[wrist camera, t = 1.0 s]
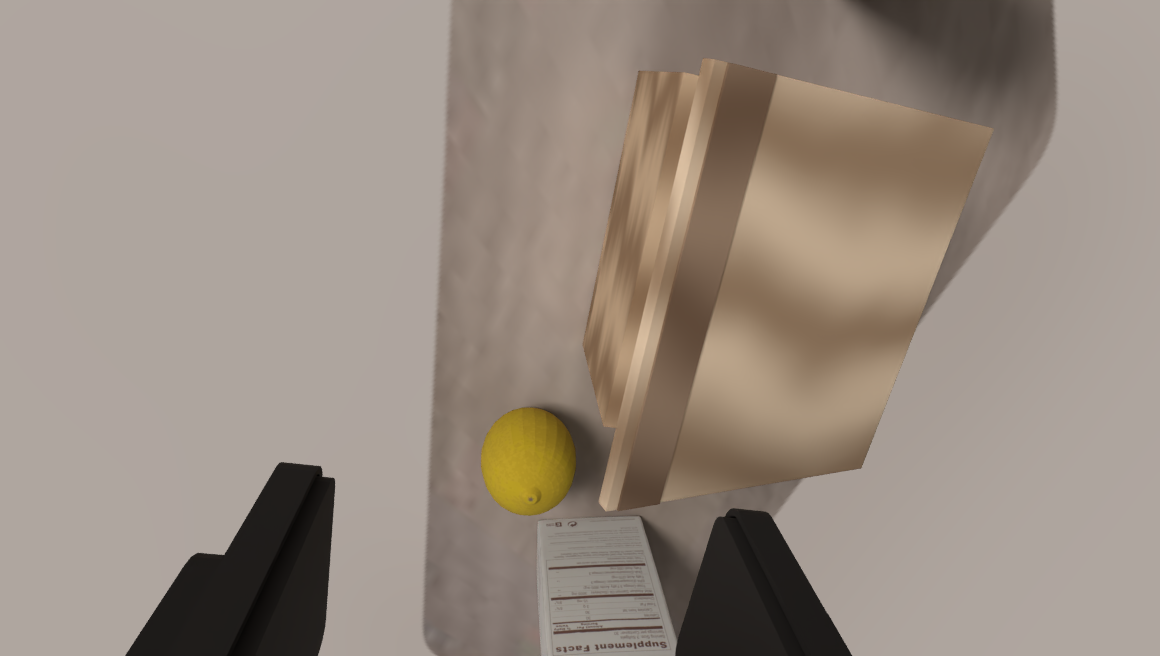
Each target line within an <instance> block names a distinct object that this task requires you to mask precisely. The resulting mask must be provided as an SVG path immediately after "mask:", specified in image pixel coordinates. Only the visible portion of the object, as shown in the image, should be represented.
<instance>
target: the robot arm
mask: <svg viewBox="0 0 1160 656" xmlns="http://www.w3.org/2000/svg"><path fill="white" fill-rule="evenodd" d="M334 494H335V479H334V478H328V477H322V468H321V466H313V465H303V464H293V463H284V462H281V463H279V464H278V465H277V467H276V468H275V470H274V472H273V473H272V475H271V477H270V478H269V480H268V482H267V483H266V485H265V487H264V489H263V490H262V492H261V494H260V495H259V497H258V499H257V500H256V502H255V504H254V506H253V507H252V509H251V511H250V513H249V514H248V516H247V517H246V519H245V521H244V522H243V524H242V526H241V528H240V529H239V531H238V533H237V534H236V536H235V538H234V539H233V541H232V543H231V545H230V547H229V548H228V550H227V552H226V553H225V555H216V554H204V553H197V554H195V555H193V556H192V557H191V558H190V559H189V560H188V562H187V563H186V564H185V565H184V567H183V568H182V570H181V571H180V573H179V574H178V576H177V578H176V579H175V581H174V582H173V584H172V585H171V587H170V588H169V590H168V591H167V593H166V594H165V596H164V598H163V599H162V600H161V602H160V603H159V605H158V607H157V608H156V610H155V611H154V613H153V614H152V616H151V617H150V619H149V620H148V622H147V623H146V625H145V627H144V628H143V629H142V631H141V632H140V634H139V635H138V637H137V639H136V640H135V642H134V643H133V645H132V646H131V648H130V649H129V651H128V652H127V654H126V656H318V653H319V650H320V647H321V643H322V639H323V635H324V629H325V622H326V609H327V596H328V581H329V567H330V551H331V537H332V523H333V508H334ZM675 656H852V655H851V653H850V651H849V649H848V648H847V646H846V644H845V643H844V641H843V639H842V637H841V636H840V634H839V632H838V630H837V629H836V627H835V625H834V624H833V622H832V620H831V618H830V617H829V615H828V614H827V613H826V611H825V609H824V607H823V606H822V604H821V603H820V600H819V599H818V597H817V595H816V593H815V592H814V590H813V588H812V586H811V585H810V583H809V581H808V579H807V578H806V576H805V574H804V573H803V571H802V569H801V567H800V566H799V564H798V562H797V560H796V559H795V557H794V555H793V554H792V552H791V550H790V548H789V547H788V545H787V543H786V541H785V540H784V538H783V536H782V534H781V533H780V531H779V529H778V527H777V526H776V524H775V522H774V520H773V519H772V517H771V516H770V515H769V513H767V512H763V511H753V510H744V509H734V508H733V509H730V510H729V511H728V512H727V514H726V516H725V517H718V518H717V519H716V520H715V523H714V525H713V528H712V532H711V535H710V538H709V541H708V545H707V548H706V551H705V554H704V557H703V561H702V564H701V567H700V570H699V573H698V577H697V580H696V583H695V586H694V590H693V593H692V596H691V599H690V602H689V606H688V609H687V612H686V615H685V618H684V622H683V625H682V628H681V631H680V634H679V638H678V641H677V645H676V651H675Z"/></svg>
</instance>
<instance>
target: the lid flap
mask: <svg viewBox="0 0 1160 656" xmlns="http://www.w3.org/2000/svg"><path fill="white" fill-rule="evenodd" d="M993 130H994V129H993V128H989V127H985V126H981V125H977V124H973V123H969V122H965V121H961V120H957V119H953V118H949V117H945V116H941V115H937V114H933V113H929V112H925V111H921V110H917V109H913V108H909V107H905V106H901V105H897V104H893V103H888V102H884V101H880V100H876V99H872V98H868V97H864V96H860V95H856V94H852V93H848V92H844V91H840V90H836V89H832V88H828V87H824V86H820V85H816V84H812V83H808V82H804V81H800V80H796V79H792V78H788V77H784V76H780V75H777V74H773V73H769V72H765V71H761V70H757V69H753V68H749V67H745V66H741V65H737V64H732V63H727V62H723V61H719V60H715V59H706V58H703V61H702V65H701V69H700V73H699V78H698V82H697V86H696V90H695V95H694V99H693V103H692V107H691V112H690V116H689V120H688V124H687V129H686V133H685V137H684V141H683V146H682V150H681V154H680V158H679V163H678V167H677V171H676V175H675V180H674V184H673V188H672V192H671V197H670V201H669V205H668V209H667V214H666V218H665V222H664V226H663V231H662V235H661V239H660V243H659V248H658V252H657V256H656V260H655V265H654V269H653V273H652V277H651V282H650V286H649V290H648V294H647V299H646V303H645V307H644V311H643V316H642V320H641V324H640V328H639V333H638V337H637V341H636V345H635V350H634V354H633V358H632V362H631V367H630V371H629V375H628V379H627V384H626V388H625V392H624V396H623V401H622V405H621V409H620V413H619V418H618V422H617V426H616V430H615V435H614V439H613V443H612V447H611V452H610V456H609V460H608V464H607V469H606V473H605V477H604V481H603V486H602V490H601V494H600V498H599V503H600V505H601V506H602V507H603V508H604V510H605V511H611V510H618V511H622V510H628V509H633V508H639V507H645V506H651V505H657V504H660V502H665V501H670V500H676V499H682V498H688V497H694V496H700V495H706V494H712V493H718V492H724V491H730V490H736V489H741V488H747V487H753V486H759V485H765V484H771V483H777V482H783V481H789V480H795V479H801V478H807V477H812V476H818V475H824V474H830V473H836V472H841V471H848V470H854V469H860V468H861V467H862V465H863V462H864V460H865V457H866V455H867V452H868V450H869V447H870V444H871V442H872V439H873V437H874V434H875V432H876V429H877V426H878V424H879V421H880V419H881V416H882V414H883V411H884V409H885V406H886V404H887V401H888V398H889V396H890V393H891V391H892V388H893V386H894V383H895V381H896V378H897V375H898V373H899V370H900V368H901V365H902V363H903V360H904V358H905V355H906V352H907V350H908V347H909V344H910V342H911V340H912V337H913V335H914V332H915V329H916V327H917V324H918V322H919V319H920V317H921V314H922V312H923V309H924V306H925V304H926V301H927V299H928V296H929V294H930V291H931V289H932V286H933V283H934V281H935V278H936V276H937V273H938V271H939V268H940V266H941V263H942V260H943V258H944V255H945V253H946V250H947V248H948V245H949V243H950V240H951V237H952V235H953V232H954V230H955V227H956V225H957V222H958V220H959V217H960V214H961V212H962V209H963V207H964V204H965V202H966V199H967V197H968V194H969V191H970V189H971V186H972V184H973V181H974V179H975V176H976V174H977V171H978V168H979V166H980V163H981V161H982V158H983V156H984V153H985V151H986V148H987V145H988V143H989V140H990V138H991V135H992V133H993Z"/></svg>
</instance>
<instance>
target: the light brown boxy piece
mask: <svg viewBox="0 0 1160 656" xmlns="http://www.w3.org/2000/svg"><path fill="white" fill-rule="evenodd" d="M698 78H699V76H698V75H693V74H689V73H683V72H654V71H639V73H638V78H637V82H636V87H635V92H634V97H633V102H632V107H631V112H630V117H629V121H628V126H627V131H626V136H625V141H624V146H623V151H622V155H621V160H620V165H619V170H618V175H617V180H616V185H615V190H614V194H613V199H612V204H611V209H610V214H609V219H608V224H607V229H606V233H605V238H604V243H603V248H602V253H601V258H600V263H599V268H598V272H597V277H596V282H595V287H594V292H593V297H592V302H591V307H590V311H589V316H588V321H587V326H586V331H585V336H584V341H583V348H584V352H585V356H586V360H587V364H588V368H589V371H590V375H591V379H592V383H593V387H594V391H595V395H596V399H597V403H598V407H599V411H600V414H601V418H602V422H603V426H605V427H613V428H616V426H617V422H618V418H619V413H620V409H621V405H622V401H623V396H624V392H625V388H626V384H627V379H628V375H629V371H630V367H631V362H632V358H633V354H634V350H635V345H636V341H637V337H638V333H639V328H640V324H641V320H642V316H643V311H644V307H645V303H646V299H647V294H648V290H649V286H650V282H651V277H652V273H653V269H654V265H655V260H656V256H657V252H658V248H659V243H660V239H661V235H662V231H663V226H664V222H665V218H666V214H667V209H668V205H669V201H670V197H671V192H672V188H673V184H674V180H675V175H676V171H677V167H678V163H679V158H680V154H681V150H682V146H683V141H684V137H685V133H686V129H687V124H688V120H689V116H690V112H691V107H692V103H693V99H694V95H695V90H696V86H697V82H698Z"/></svg>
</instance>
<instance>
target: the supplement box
mask: <svg viewBox="0 0 1160 656" xmlns="http://www.w3.org/2000/svg"><path fill="white" fill-rule="evenodd" d="M537 593H538V610H539V624H540V643H541V656H675V651H676V645H677V638H676V635H675V631H674V628H673V625H672V622H671V618H670V614H669V610H668V607H667V603H666V600H665V596H664V593H663V589H662V586H661V583H660V579H659V576H658V573H657V569H656V566H655V562H654V559H653V556H652V552H651V549H650V546H649V543H648V539H647V536H646V533H645V530H644V526H643V523H642V520H641V517H640V516H618V517H593V518H570V519H549V520H540V521H538V530H537Z"/></svg>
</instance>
